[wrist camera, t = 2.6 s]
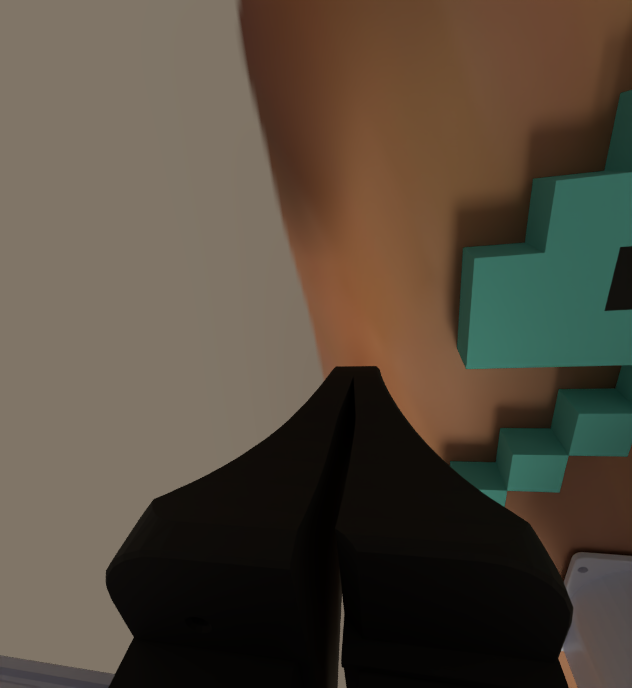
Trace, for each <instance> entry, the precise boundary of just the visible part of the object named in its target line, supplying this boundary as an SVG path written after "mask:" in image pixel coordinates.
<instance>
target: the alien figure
mask: <svg viewBox="0 0 632 688" xmlns="http://www.w3.org/2000/svg"><path fill="white" fill-rule="evenodd" d="M457 349H458V352H459V354H460V356H461V358H462V361H463V363H464V365H465V367H466V369H489V368H530V367H571V366H613V365H622V366H621V370H620V373H619V377H618V380H617V384H616V387H615V388H609V389H559V391H558V395H557V400H556V405H555V410H554V415H553V419H552V424H551V428H500V434H499V441H498V449H497V456H496V462H461V461H450V467H452V468H453V469H454V470H455V471H456V472H457V473H458V474H460V475H461V476H462V477H463V478H464V479H465V480H467V481H468V482H469V483H471V484H472V485H473V486H475V487H476V488H477V489H479V490H480V491H481V492H483V493H484V494H485V495H487V496H488V497H490V498H491V499H493V500H494V501H496V502H497V503H499V504H501V505H502V506H504V507H505V501H506V495H507V491H530V492H559V493H560V489H561V485H562V481H563V477H564V472H565V468H566V464H567V460H568V456H623V457H628V454H629V451H630V448H631V445H632V90H629V91H626V92H622V93H620V98H619V102H618V107H617V112H616V117H615V122H614V126H613V131H612V136H611V141H610V146H609V150H608V155H607V160H606V165H605V170H604V171H597V172H588V173H579V174H570V175H562V176H553V177H544V178H535V179H533V184H532V192H531V199H530V207H529V214H528V222H527V230H526V237H525V242H524V243H512V244H500V245H488V246H476V247H464V248H463V257H462V274H461V290H460V307H459V324H458V340H457Z"/></svg>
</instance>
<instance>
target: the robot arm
mask: <svg viewBox="0 0 632 688" xmlns="http://www.w3.org/2000/svg"><path fill="white" fill-rule="evenodd" d="M106 586H107V589H108V592H109V594H110V597H111V599H112V601H113V603H114V604H115V606H116V608H117V609H118V611H119V613H120V614H121V616H122V618H123V620H124V621H125V623H126V624H127V626H128V628H129V629H130V631H131V633H132V635H133V636H134V638H133V640H132V642H131V644H130V646H129V648H128V650H127V652H126V654H125V656H124V658H123V660H122V662H121V664H120V666H119V668H118V670H117V672H116V673H115V674H111V673H104V672H99V671H93V670H87V669H80V668H74V667H68V666H62V665H56V664H50V663H44V662H37V661H32V660H25V659H19V658H13V657H7V656H1V655H0V688H337V686H338V661H339V641H340V619H341V601H342V596H343V605H344V614H345V615H344V629H343V644H342V659H341V661H342V662H341V664H342V667H343V668H344V672H345V679H346V686H347V688H569V687H568V684H567V681H566V679H565V676H564V673H563V670H562V668H561V665H560V662H559V660H558V657H559V655H560V652H561V651H564V653H565V655H566V658H567V661H568V663H569V666H570V669H571V671H572V674H573V676H574V679H575V682H576V684H577V687H578V688H632V556H627V555H614V554H601V553H588V552H579V553H576V554H574V555H573V556H572V558H571V561H570V564H569V567H568V570H567V573H566V576H565V579H564V582H563V580H562V578H561V576H560V574H559V572H558V570H557V568H556V566H555V564H554V563H553V561H552V559H551V558H550V556H549V554H548V553H547V551H546V549H545V547H544V546H543V544H542V543H541V541H540V539H539V538H538V536H537V535H536V533H535V531H534V530H533V528H532V527H531V525H530V524H529V523H528V522H527V521H525V520H524V519H522V518H520V517H519V516H517V515H516V514H514V513H513V512H511V511H510V510H508V509H507V508H505V507H504V506H502V505H501V504H499V503H497V502H496V501H494V500H493V499H491V498H490V497H488V496H487V495H485V494H484V493H483V492H481V491H480V490H479V489H477V488H476V487H475V486H473V485H472V484H471V483H469V482H468V481H467V480H465V479H464V478H463V477H462V476H461V475H460V474H458V473H457V472H456V471H455V470H454V469H453V468H452V467H450V466H449V465H448V464H447V463H446V462H445V461H444V460H442V459H441V458H440V457H439V456H438V455H437V454H436V453H435V452H434V451H433V450H432V449H431V448H430V447H429V446H428V445H427V443H426V442H425V441H424V440H423V439H422V438H421V437H420V436H419V435H418V433H417V432H416V431H415V430H414V429H413V427H412V426H411V425H410V423H409V422H408V421H407V419H406V418H405V417H404V415H403V414H402V412H401V411H400V409H399V408H398V407H397V405H396V403H395V402H394V400H393V398H392V397H391V395H390V393H389V391H388V390H387V388H386V386H385V383H384V381H383V379H382V376H381V373H380V369H379V368H378V367H377V366H348V367H335V368H334V369H333V370H332V371H331V373H330V374H329V375H328V377H327V378H326V379H325V381H324V382H323V383H322V385H321V386H320V387H319V388H318V389H317V391H316V392H315V393H314V394H313V395H312V396H311V397H310V399H309V400H308V401H307V402H306V403H305V404H304V405H303V406H302V407H301V408H300V409H299V410H298V411H297V412H296V413H295V414H294V415H293V416H292V417H291V418H290V419H289V420H288V421H287V422H286V423H285V424H284V425H282V426H281V427H280V428H279V429H278V430H276V431H275V432H274V433H273V434H271V435H270V436H269V437H268V438H266V439H265V440H263V441H262V442H261V443H259V444H258V445H256V446H255V447H253V448H252V449H250V450H249V451H247V452H246V453H244V454H243V455H241V456H240V457H238V458H237V459H235V460H233V461H231V462H230V463H228V464H226V465H224V466H223V467H221V468H219V469H217V470H215V471H214V472H212V473H210V474H208V475H206V476H204V477H202V478H200V479H198V480H196V481H194V482H192V483H189V484H188V485H185V486H183V487H181V488H178V489H176V490H174V491H172V492H170V493H168V494H165V495H163V496H160V497H158V498H156V499H154V500H153V501H152V502H151V504H150V505H149V506H148V508H147V509H146V511H145V512H144V513H143V515H142V516H141V517H140V519H139V520H138V522H137V524H136V525H135V527H134V528H133V530H132V531H131V533H130V534H129V536H128V537H127V539H126V540H125V542H124V543H123V545H122V546H121V548H120V549H119V551H118V553H117V554H116V555H115V557H114V558H113V560H112V562H111V563H110V565H109V567H108V568H107V570H106Z"/></svg>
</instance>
